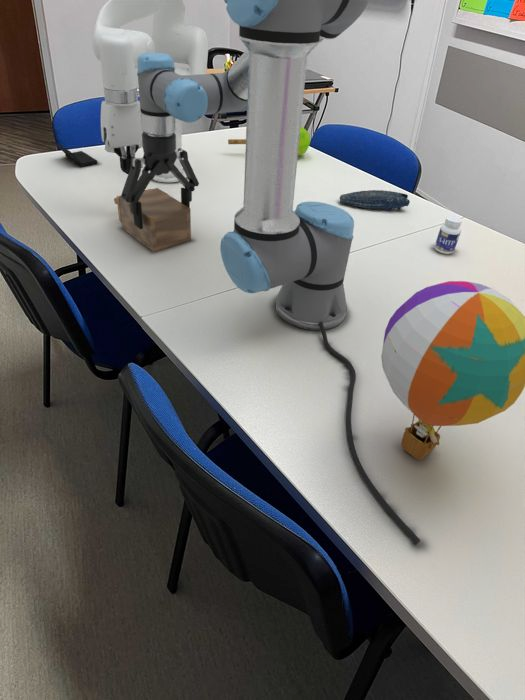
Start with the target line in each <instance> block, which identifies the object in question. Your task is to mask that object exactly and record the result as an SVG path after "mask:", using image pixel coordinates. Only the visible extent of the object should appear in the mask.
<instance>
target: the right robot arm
mask: <svg viewBox="0 0 525 700" xmlns="http://www.w3.org/2000/svg"><path fill="white" fill-rule="evenodd" d="M223 1H224V4H226V6H225V7H226V8H225V9H226V12H227V14H228V16H229V18H230V19H231V20H232V22H233V23H235V24H236V25H238V26H239V27H238V29H239V31H238V33H239V34H238V38H239V40H240V41H241V42H242V44H243V45H244V46H245V48H246V50H245V51H244V52H243V53H242V54H241V55H240V56H239V58H237V60H235V62H234V63H233V64H232V65H231V66H230V67H228V69H227V70H226V71H223V72H215V73H206V74H199V75H179V74H177V73H175V72H174V71H175V67H176V66H175V63H174V61H173V58H172V57H171V56H170V55H168V54H164V53H154V52H151V53H143V54H141V55H139V57H138V68H137V73H136V77H137V82H138V88H139V95H138V98H139V102H140V111H141V127H142V131H143V133H142V144H143V147H142V151H143V155H142V157H136V156H135V157H132V158H131V168H130V171H129V174H127V177H126V180H125V182H124V185H123V188H122V192H121V194H120V196H121V198H122V199H123V200H125V201H126V202H128V203H129V202H130V212H131V214H132V215H134V225H135V226H137V227H138V228H139V229H143V222H142V208H141V202H139V199H140V197H141V196H142V194H143V192H144V191H145V190H147V187H148V185H149V184H150V182H151V181H152V179H153V178H154V177H155V175H157V176H158V175H161V174H168V173H169V172H171V173H172V174H173V175H174V176H175V177H176V178H177V179H178V180H179V181H178V182H179V183H180V184H181V185H182V186H183V187H181V188H180V202H181V203H182V204H184V205H186V206H187V207H189V208H190V209H191V207H190V205H191V202H192V200H193V192H194V191H195V189H196V188H195V187H199V185H200V183H199V180H198V178H197V176H196V174H195V172H194V170H193V167H192V165H191V163H190V161H189V154H188V151H186V150H185V149H183V148H182V149H181V148H179V149H178V151H176V152H175V150H176V135H175V133H174V132H175V131H176V122H175V118H176V119H179V120H181V122H184V123H191V124H192V123H195V122H197V121H199V120H200V119H202V118H203V117H204V116H207V115H216V114H226V113H236V112H237V113H243V112H245V111H246V124H245V125H246V127H245V129H246V130H245V133H246V134H245V139H246V144H245V157H244V180H243V181H244V186H243V206H242V207H241V208H240V209H238V210H237V211H236V212H235V214H234V221H233V231H228V232H227V233H225V234H224V235H223V237H222V238H221V240H220V245H219V246H220V255H221V260H222V263H223V266H224V269H225V271H226V273H227V275H228V277H229V278H230V280H231V281H232V283H233V284H234V285H235V286H236V287H237V288H238V289H239V290H241V291H242V292H243V293H246V294H256V293H260V292H269V290H271V289H274V288H277V287H280V286H281V287H280V290H279V291H278V294H277V296H276V300H275V311H276V313H277V315H278V316H279V317H280V318H281V319H282V320H283V321H284V322H286V323H287V324H289V325H291V326H293V327H296V328H300V329H304V330H310V331H320V332H321V333H320V334H321V337H322V341H323V344H324V346H325V348H326V349H327V351H328V352H330V354H331V355H333V356H334V357H336V358H337V359H339V360H340V361H342V363H344V365H346V366H347V368H348V369H349V372H350V382H349V386H348V390H347V401H346V403H347V404H346V410H345V428H346V429H345V431H346V439H347V445H348V449H349V452H350V455H351V459H352V461H353V463H354V465H355V468H356V469H357V472H358V473H359V475H360V477H361V479H362V480H363V482H364V484H365V485H366V487H367V488H368V489H369V491H370V492H371V494H372V495H373V496H374V498H375V499H376V500H377V501H378V503H379V504H380V505H381V507H382V508H383V509H384V510H385V512H386V513H387V514H388V515H389V516H390V517H391V519H392V520H393V521H394V522H395V524H397V526H398V527H399V528H400V529H401V530H402V531H403V532H404V533H405V534H406V535H407V536H408V537H409V539H411V541H412V542H413V543H414V544H415V545H418V544H419V543H420V542H421V539H420V538H419V536H417V534H415V533H414V531H413V530H412V529H411V528H410V527H409V525H407V524H406V523H405V522H404V520H402V518H401V517H400V516H399V515H398V514H397V513H396V512H395V511H394V510H393V508H392V507H391V506H390V505H389V503H388V502H387V501H386V500H385V499H384V497H383V496H382V494H381V493H380V492H379V490H378V489H377V488H376V486H375V485H374V483H373V482H372V481H371V479H370V478H369V476H368V474H367V473H366V471H365V469H364V467H363V465H362V462H361V461H360V458H359V456H358V454H357V451H356V447H355V444H354V438H353V430H352V407H353V399H354V397H353V396H354V388H355V384H356V380H357V374H356V370H355V368H354V366H353V364H352V362H351V361H350V360H349V359H347V358H346V357H345V356H344V355H342V354H341V353H339V352H338V351H337V350H336V349H334V348H333V347H332V346H331V344H330V342H329V340H328V336H327V332H326V330H329V329H333V328H336V327H337V326H339V325H340V324H342V323H343V322H344V320H345V318H346V315H347V310H348V305H347V297H346V292H345V286H344V280H345V275H346V271H347V267H348V262H349V257H350V253H351V247H352V244H353V243H352V242H353V240H354V231H355V229H354V228H355V220H354V218H353V216H352V215H351V214H350V213H349V212H348V211H346V210H345V209H343V208H340V207H339V206H336V205H333V204H329V203H325V202H320V201H303V202H300V203H298V204H297V205H296V208H295V210H294V209H293V208H294V200H295V199H294V198H295V188H296V177H297V170H298V169H297V167H298V158H299V156H298V148H299V138H300V127H301V126H302V118H303V117H302V115H303V107H304V94H305V84H306V75H307V64H308V57H309V54H310V53H312V51H313V50H314V49H316V47H317V46H318V45H319V44H320V43H321V42H323V41H324V40H334V39H336V38H337V37H339V36H340V35H341V34H343V33H344V32H345V31H346V30H347V29H349V28H350V27H351V26H352V25H353V24H355V22H356V21H357V20H358V19H359V18H360V17H361V16H362V14H363V12H364V11H365V9H366V8H367V7H368V4H369V2H370V0H223ZM176 159H179V161H180V163H181V165H182V168H183V170H184V172H185V174H186V176H187V177H186V178H185V177H184V176H183V175H182V174H181V172H180V171H179V170H178V168H177V167H176V166H175V165H174V163H175V161H176ZM148 171H150V173H148Z"/></svg>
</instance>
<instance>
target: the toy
mask: <svg viewBox="0 0 525 700" xmlns="http://www.w3.org/2000/svg"><path fill="white" fill-rule="evenodd" d="M380 357H381V358H380V359H381V367H382V370H383V372H384V375H385V377H386V379H387V381H388V384H389V386H390V388H391V390H392V393H393V394H394V395H395V397H396V398H397V399H398V400H399V401H400V402H401V403H402V405H403V406H404V407H405V408H407V410H408V411H409V412H410V413H412V414H413V415H412V422H411V424H410V427H409V426H407V427H405V428H404V432H403V435H402V437H401V442H400V445H401V446H400V447H401V448H402V450H404V451H406V453H408V454H409V455H410V456H412V457H413V458H414V459H416V460H417V461H421V460H423V459H425V458H426V457H427V456H428V455H429V454H430V453H432V452H433V451H434V450H435V448H436V447H437V446H439V445H440V442H439V441H440V439H441V434H439V431H440V429H441V428H442V427H456V426H467V425H476V424H479V423H482V422H484V421H486V420H488V419H490V418H492V417H495V416H497V415H498V414H501V413H503V412H505V411H507V410H508V409H509V408H510V407H511V406H513V405H514V404H515V403H516V402H517V400H518V399H519V397H520V396H521V394H522V393H523V391H524V390H525V315H524V314H523V313H522V312H521V310H519V308H518V307H517V306H516V305H515V303H514V302H513V301H511V299H510V298H509V297H507V296H506V295H504V294H503V293H501V292H499V291H498V290H496V289H494V288H493V287H489V286H487V285H484V284H481V283H476V282H472V281H465V280H454V281H453V280H449V281H445V282H441V283H437V284H433V285H429V286H426V287H423V288H422V289H419V290H418V291H416V292H415V293H414V294H412V295H411V296H410V297H409V298H408V299H407V300H405V302H404V303H403V304H401V305H400V306H399V307H398V308H397V309H396V310H395V312H394V313H393V314H392V316H391V317H390V318H389V320H388V322H387V325H386V328H385V330H384V335H383V343H382V349H381V355H380ZM415 417H416V418H417V419H418V421H416V422H415V423H414V420H415ZM434 427H438V429H436V431H435V428H434Z"/></svg>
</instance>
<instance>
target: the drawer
mask: <svg viewBox="0 0 525 700" xmlns="http://www.w3.org/2000/svg"><path fill="white" fill-rule="evenodd" d="M151 189H152V188H148V189H147V188H146V189H145V191H146V190H151ZM119 196H120V195H116V197H114V198H113V202H114V205H117V214H118V221H119V222H120V223H122V218H121V209H120V199H119Z"/></svg>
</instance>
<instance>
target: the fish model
mask: <svg viewBox="0 0 525 700" xmlns="http://www.w3.org/2000/svg"><path fill="white" fill-rule="evenodd" d="M410 202H411V201H410V200H409V195H408V194H406V193H403V192H402V193H401V192H399V191H392V190H382V189H380V190H379V189H377V190H376V189H368V190H360V191H352V192H348V193H344V194H341V195H340V196H339V203H343V204H346V205H349V206H351V207H357V208H362V209H371V210H372V209H374V210H384V211H385V210H386V211H391V210H394V209H397V210H402V208H404V207H408V206H409V205H410Z"/></svg>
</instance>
